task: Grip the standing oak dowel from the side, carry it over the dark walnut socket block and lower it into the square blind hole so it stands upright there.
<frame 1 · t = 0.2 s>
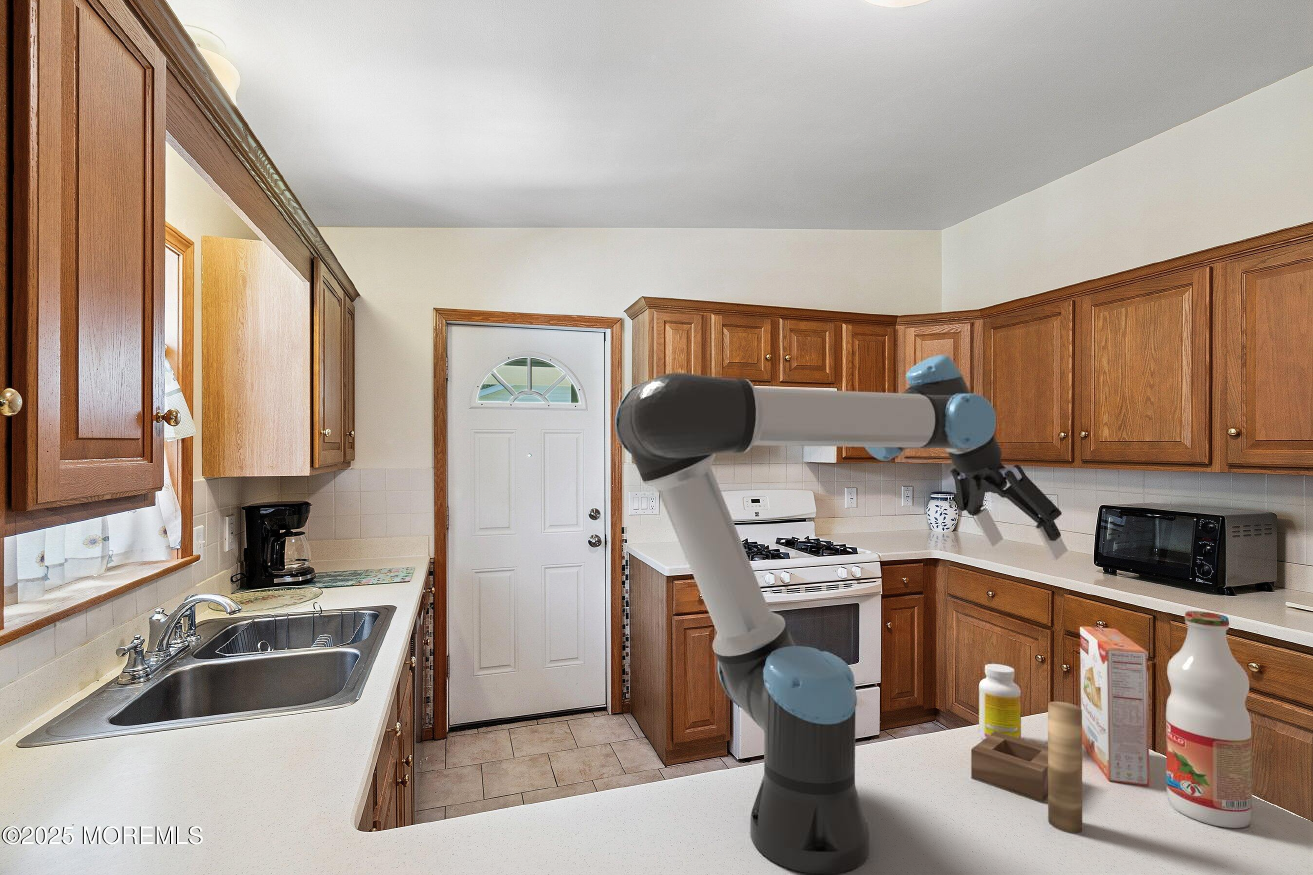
hand: (1026, 548, 113), 35 cm above the counter, tool tilted 35°, fingers open, 13 cm apart
cracker box: (1112, 765, 109), on the counter
supplement bottle: (999, 741, 118), on the counter
socket block: (1016, 778, 104), on the counter
fruit juice: (1208, 812, 95), on the counter
dowel: (1065, 824, 91), on the counter
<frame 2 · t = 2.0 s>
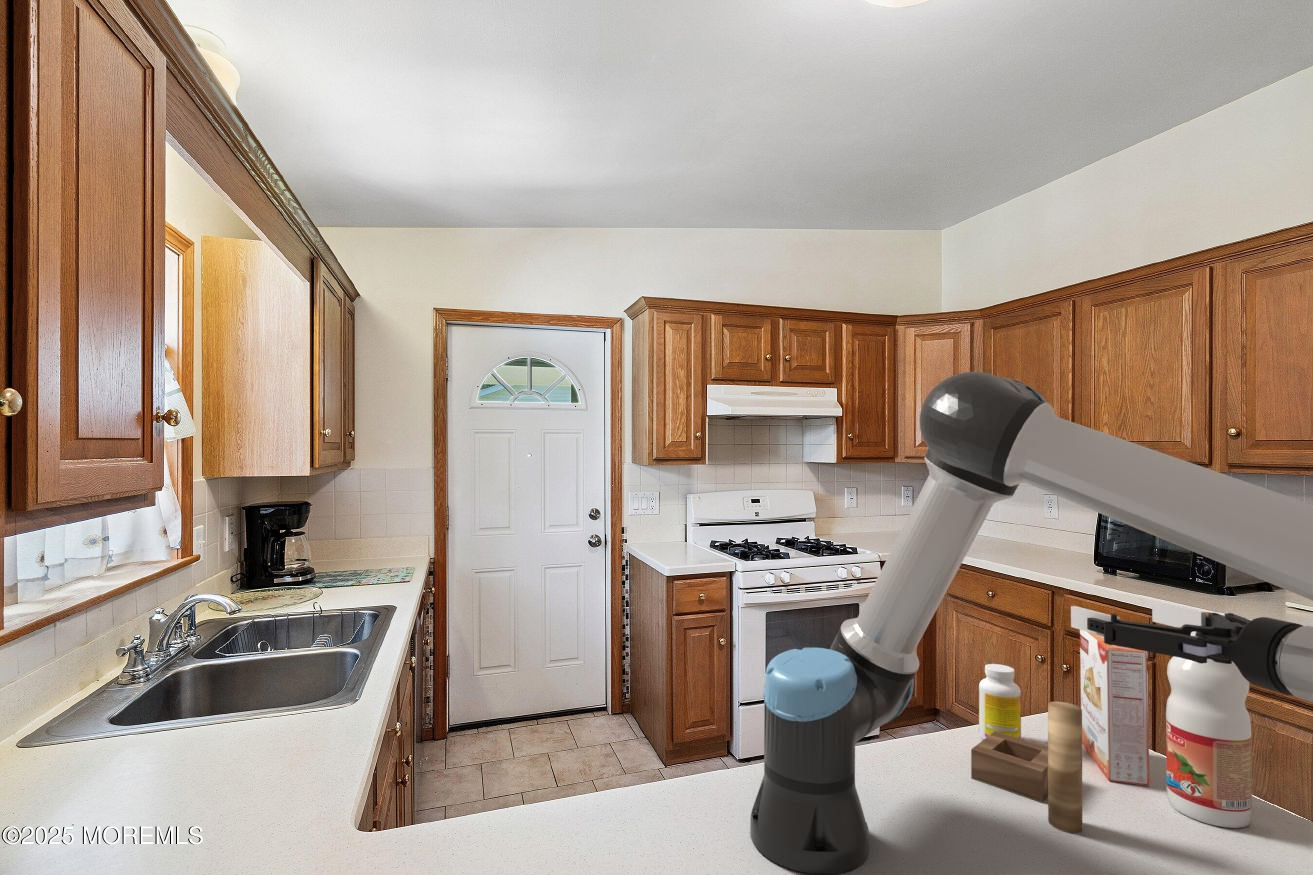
hand: (1114, 613, 90), 29 cm above the counter, tool horizontal, fingers open, 13 cm apart
nothing on the counter moved.
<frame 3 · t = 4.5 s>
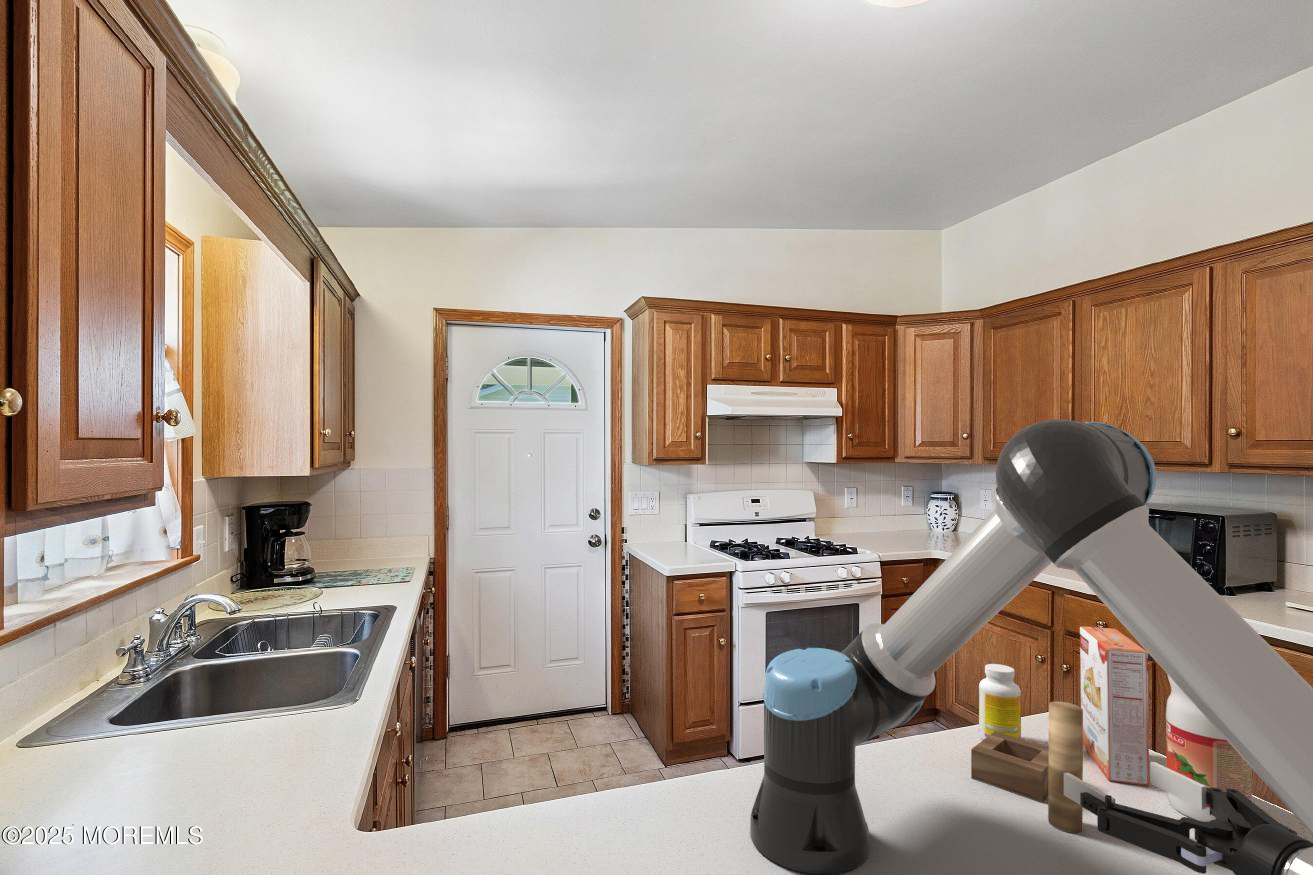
hand: (1109, 777, 85), 9 cm above the counter, tool horizontal, fingers open, 13 cm apart
nothing on the counter moved.
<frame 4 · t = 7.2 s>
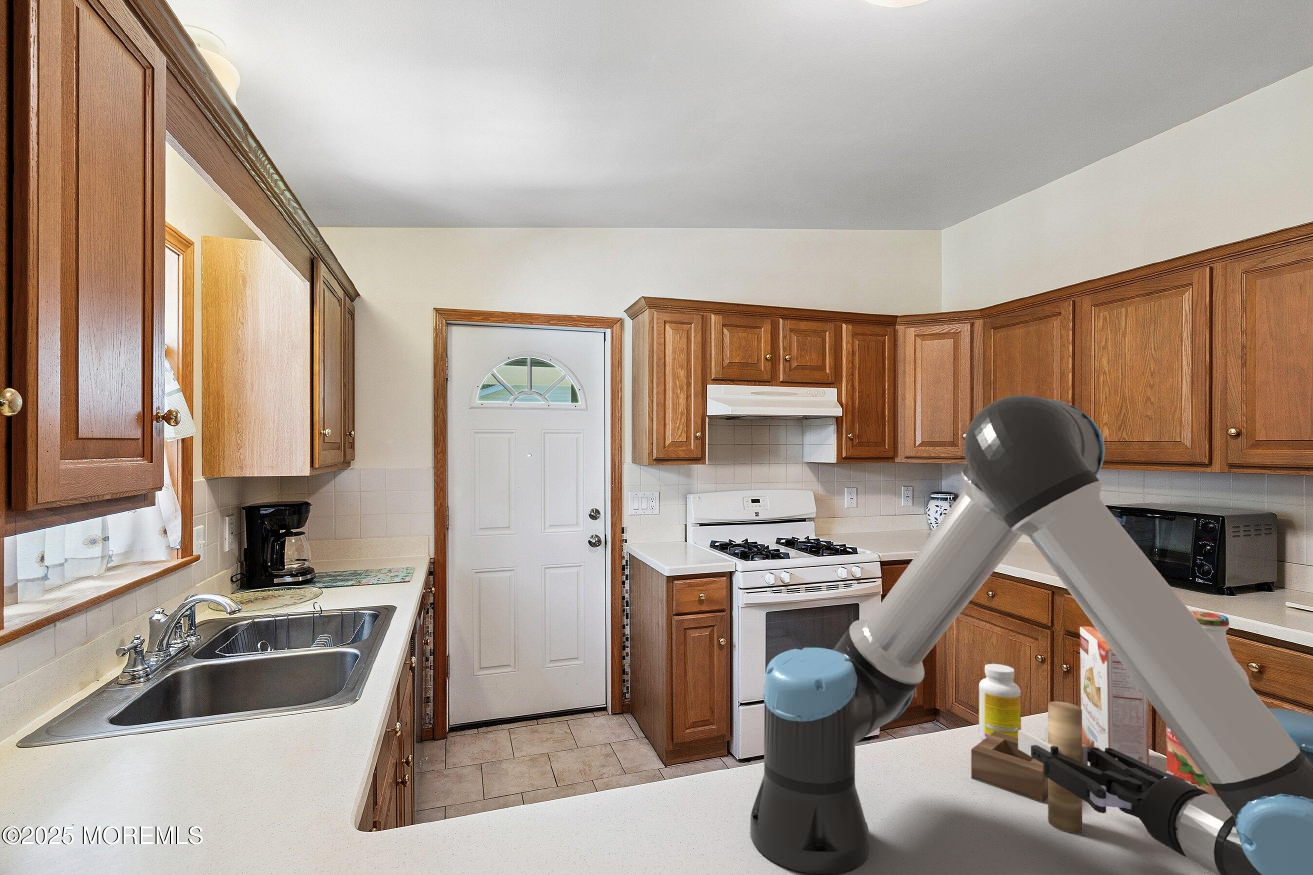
hand: (1033, 737, 97), 10 cm above the counter, tool horizontal, fingers closed on dowel, 4 cm apart
dowel: (1064, 824, 91), on the counter, touching gripper
everything else where it was.
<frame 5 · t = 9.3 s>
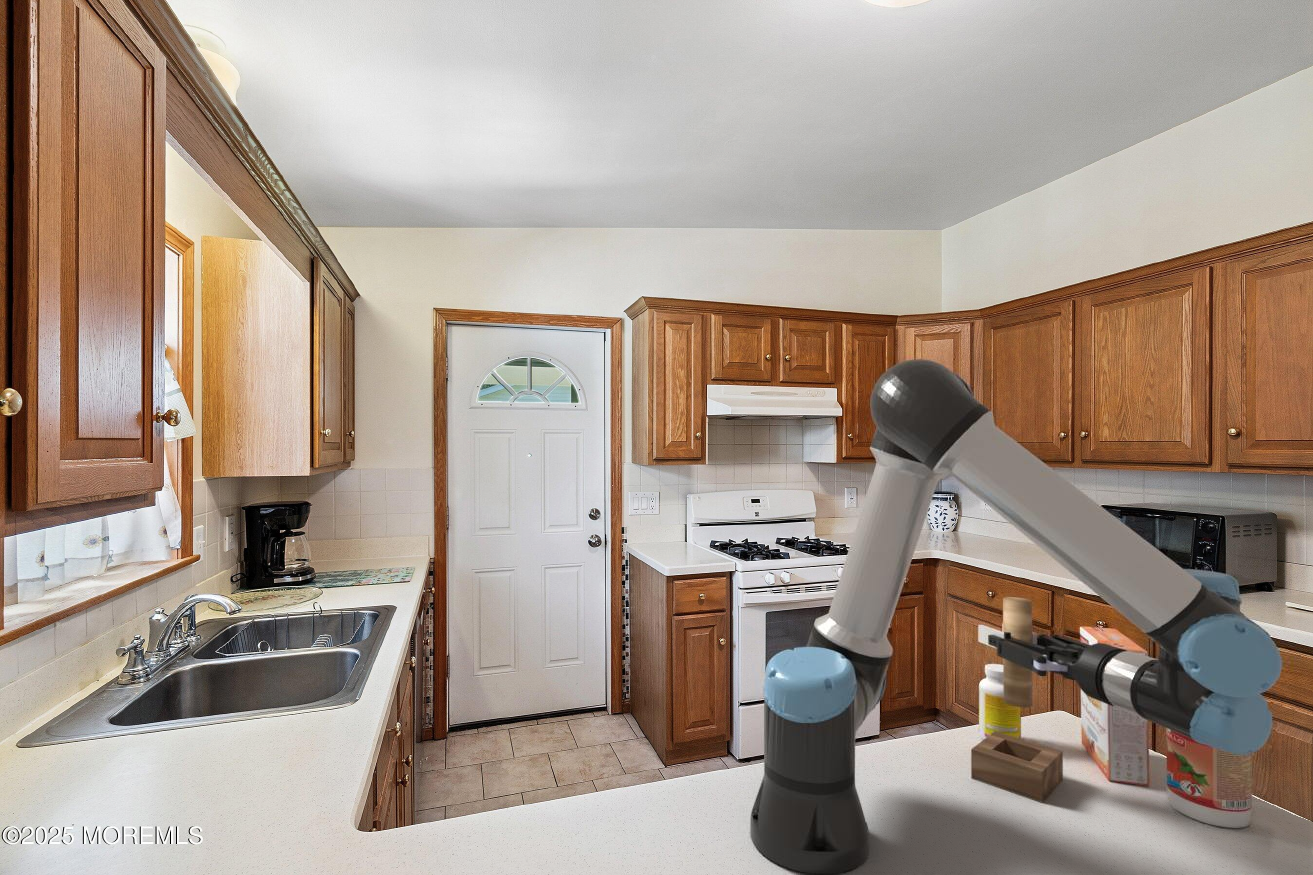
hand: (992, 632, 110), 21 cm above the counter, tool horizontal, fingers closed on dowel, 4 cm apart
dowel: (1017, 702, 104), point 12 cm above the counter, touching gripper
everything else where it was.
when the fingers open (11 cm above the counter, at t = 11.8 s): dowel stays where it is, resting on socket block.
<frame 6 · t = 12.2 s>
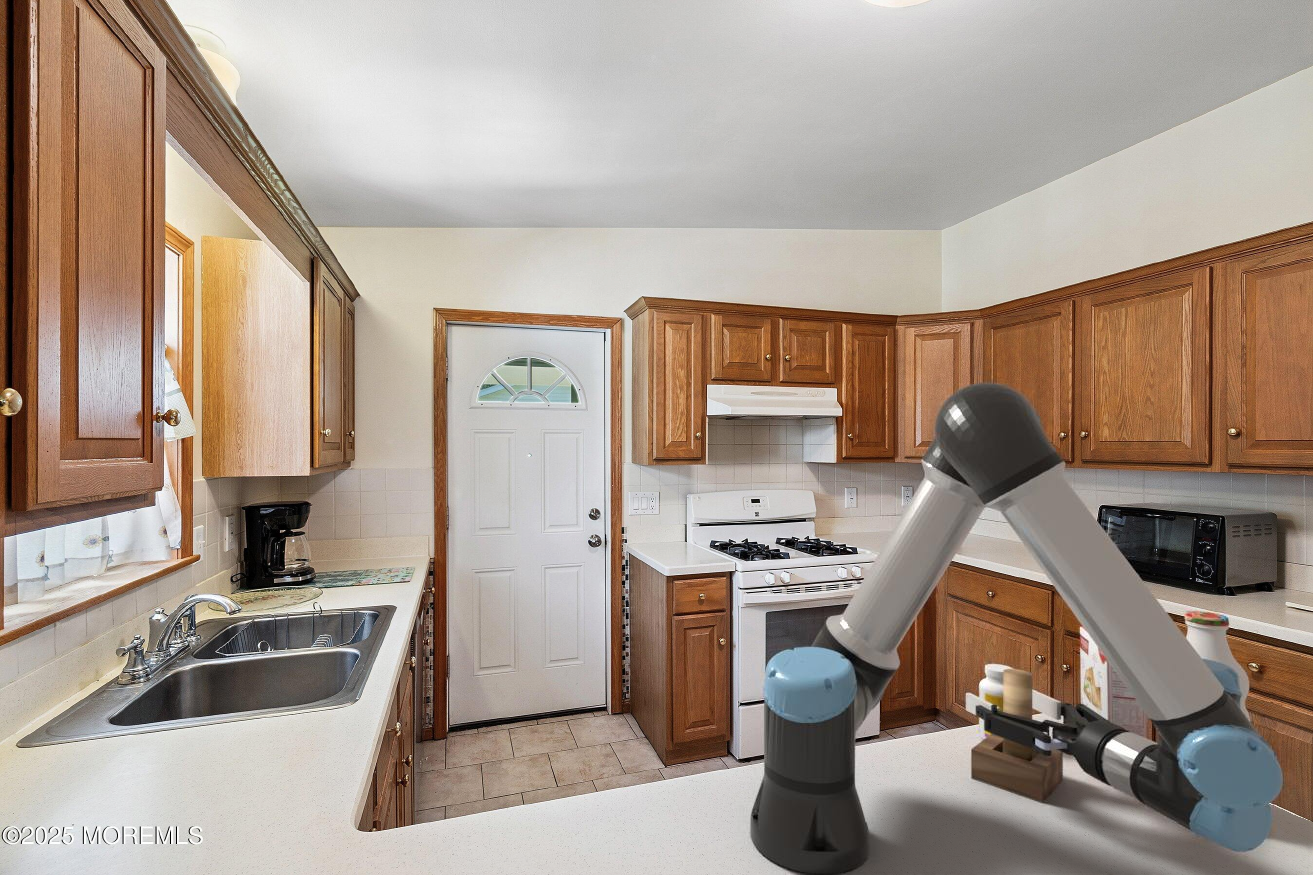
hand: (997, 698, 108), 11 cm above the counter, tool horizontal, fingers open, 10 cm apart
dowel: (1017, 775, 104), point 1 cm above the counter, touching socket block
everything else where it was.
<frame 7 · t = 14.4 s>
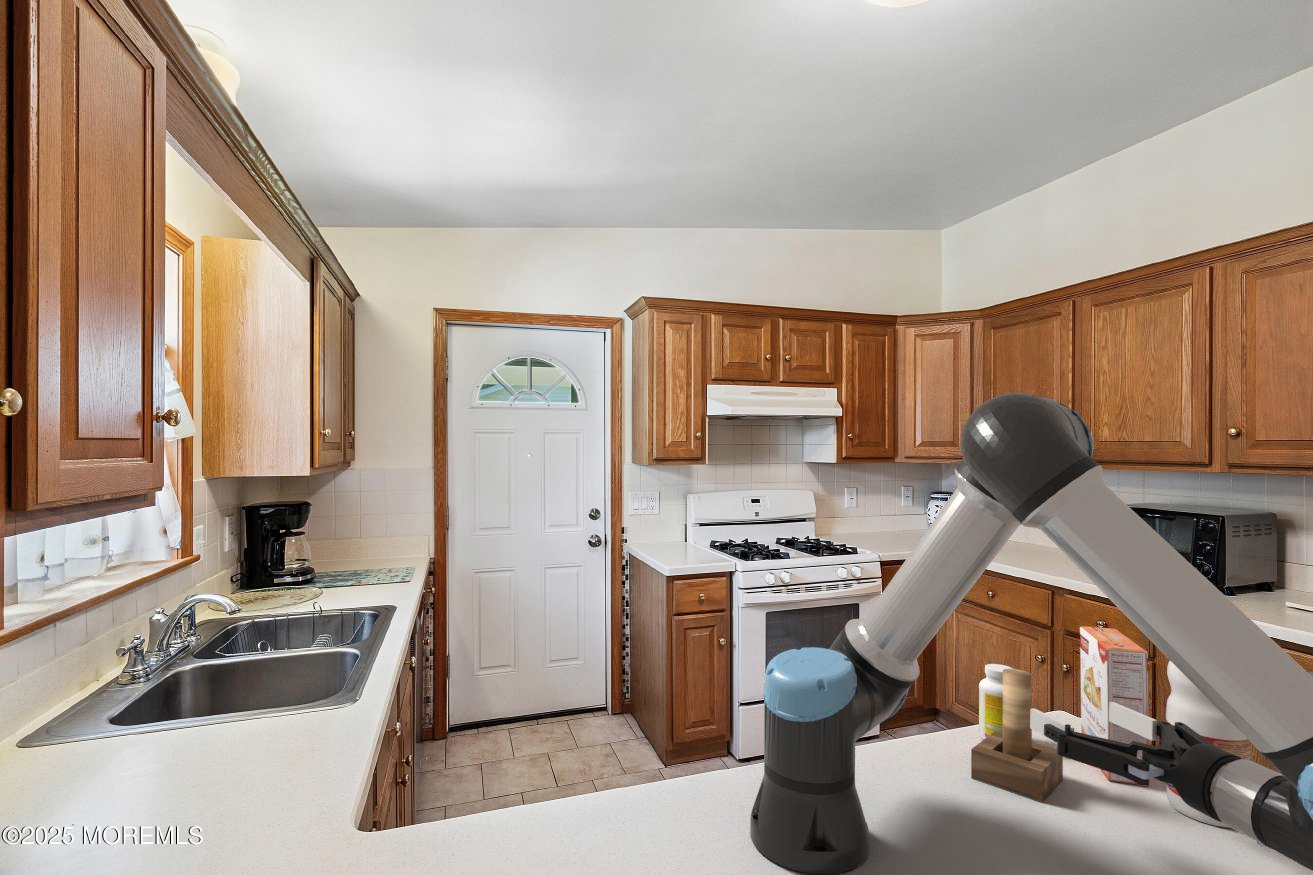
hand: (1072, 714, 95), 14 cm above the counter, tool horizontal, fingers open, 13 cm apart
nothing on the counter moved.
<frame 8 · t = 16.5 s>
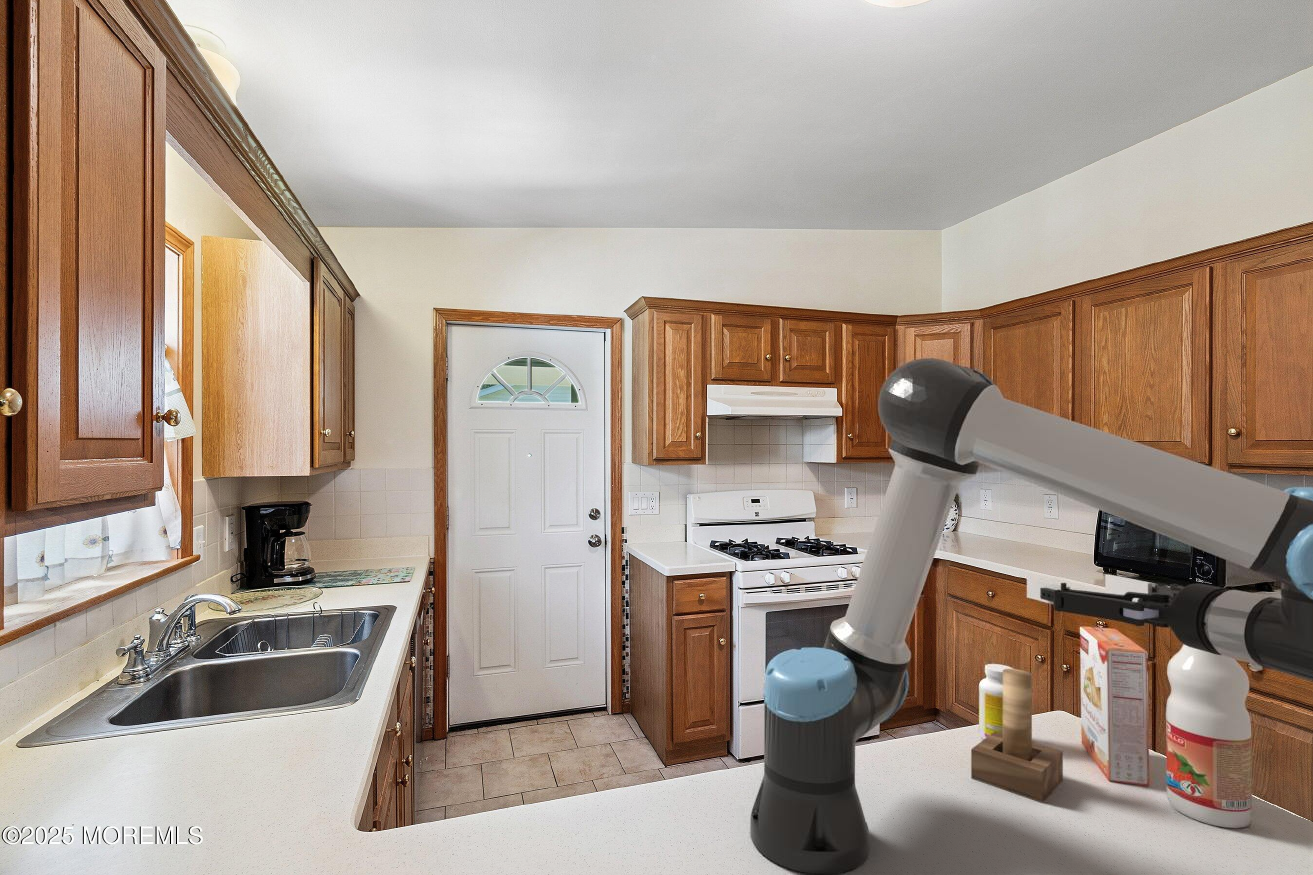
hand: (1068, 585, 95), 32 cm above the counter, tool horizontal, fingers open, 13 cm apart
nothing on the counter moved.
at the end: dowel 0.0 cm off-centre on the socket block, point 0.5 cm above the socket block's base; dowel tilted 0°; the gripper is holding nothing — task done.
